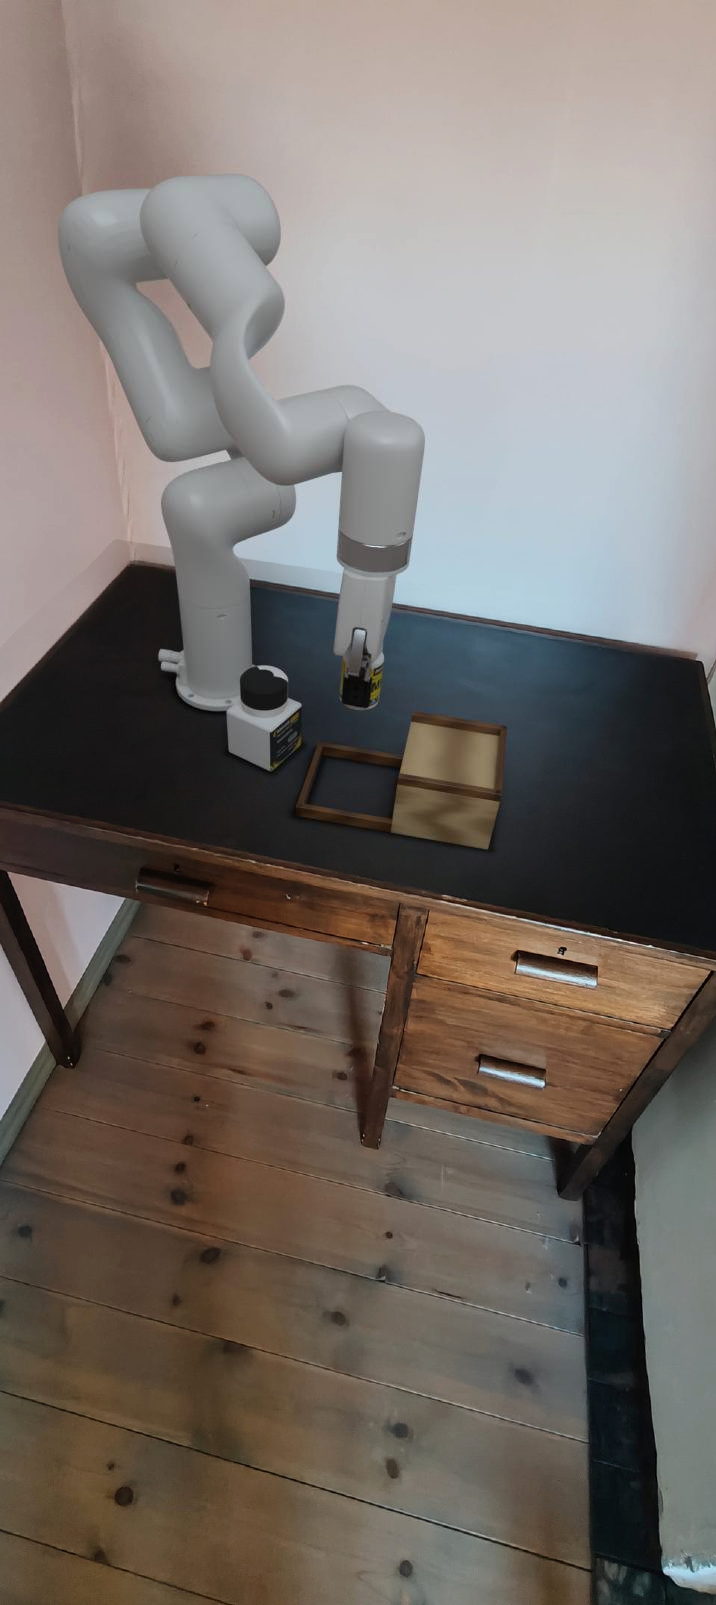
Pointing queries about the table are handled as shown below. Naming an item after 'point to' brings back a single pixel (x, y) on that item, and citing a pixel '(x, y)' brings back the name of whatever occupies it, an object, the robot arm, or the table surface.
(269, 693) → the medicine bottle
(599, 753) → the table surface
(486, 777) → the shelf rack
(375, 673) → the supplement bottle
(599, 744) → the table surface
